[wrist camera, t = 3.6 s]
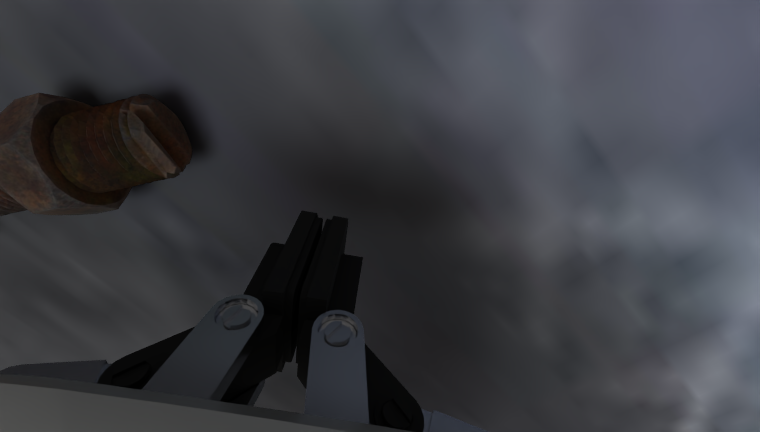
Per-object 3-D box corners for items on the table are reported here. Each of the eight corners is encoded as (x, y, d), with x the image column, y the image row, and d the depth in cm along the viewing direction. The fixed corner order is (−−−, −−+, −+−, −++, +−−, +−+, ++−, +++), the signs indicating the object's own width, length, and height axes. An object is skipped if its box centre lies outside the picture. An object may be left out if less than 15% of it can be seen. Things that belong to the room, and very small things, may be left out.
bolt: (220, 126, 17) (-30, 186, 19) (138, 29, 13) (-173, 119, 15) (198, 230, 14) (-95, 287, 16) (82, 148, 10) (-297, 240, 12)
